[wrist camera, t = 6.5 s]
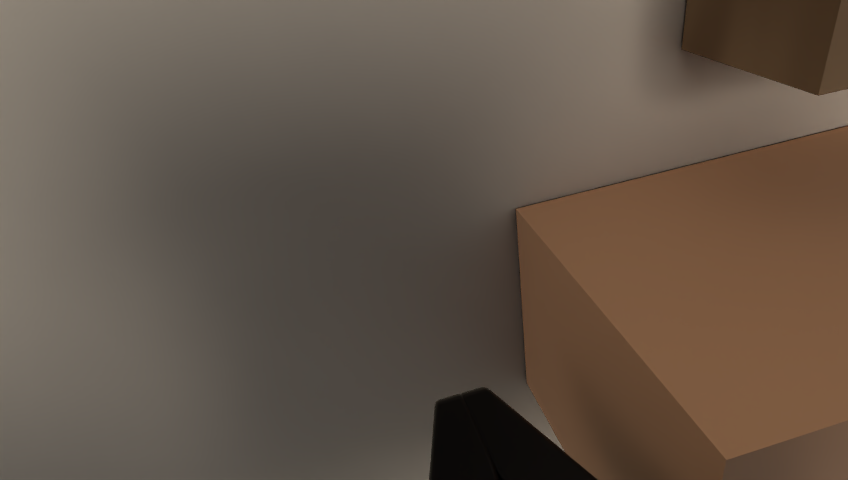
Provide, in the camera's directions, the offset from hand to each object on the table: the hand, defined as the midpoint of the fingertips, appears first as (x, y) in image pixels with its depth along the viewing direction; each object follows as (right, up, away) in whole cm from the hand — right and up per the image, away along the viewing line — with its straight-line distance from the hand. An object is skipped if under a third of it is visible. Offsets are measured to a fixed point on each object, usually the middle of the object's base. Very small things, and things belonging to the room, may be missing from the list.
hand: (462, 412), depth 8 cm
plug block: (+5, +2, +3) cm, 6 cm away
